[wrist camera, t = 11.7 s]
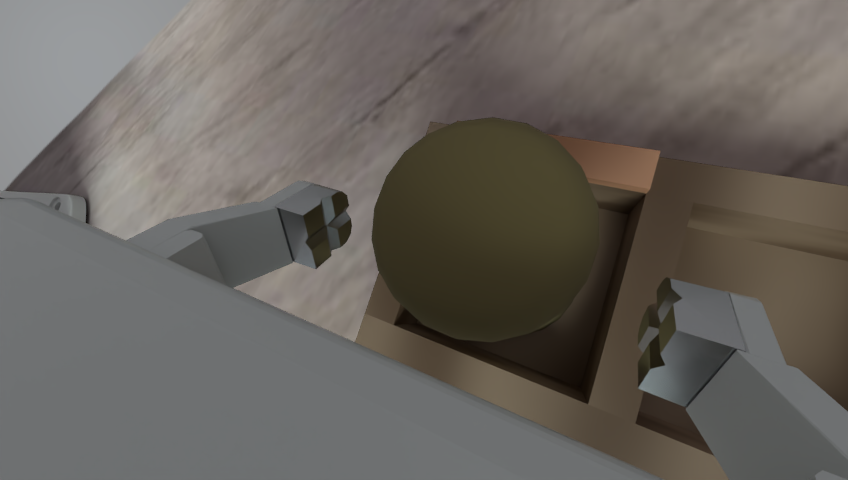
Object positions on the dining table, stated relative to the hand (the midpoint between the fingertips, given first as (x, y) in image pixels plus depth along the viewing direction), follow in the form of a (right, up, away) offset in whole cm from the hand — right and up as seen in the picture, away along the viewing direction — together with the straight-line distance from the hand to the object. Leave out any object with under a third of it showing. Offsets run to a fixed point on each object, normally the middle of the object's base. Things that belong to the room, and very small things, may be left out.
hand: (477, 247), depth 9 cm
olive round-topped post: (+3, -1, +8) cm, 9 cm away
